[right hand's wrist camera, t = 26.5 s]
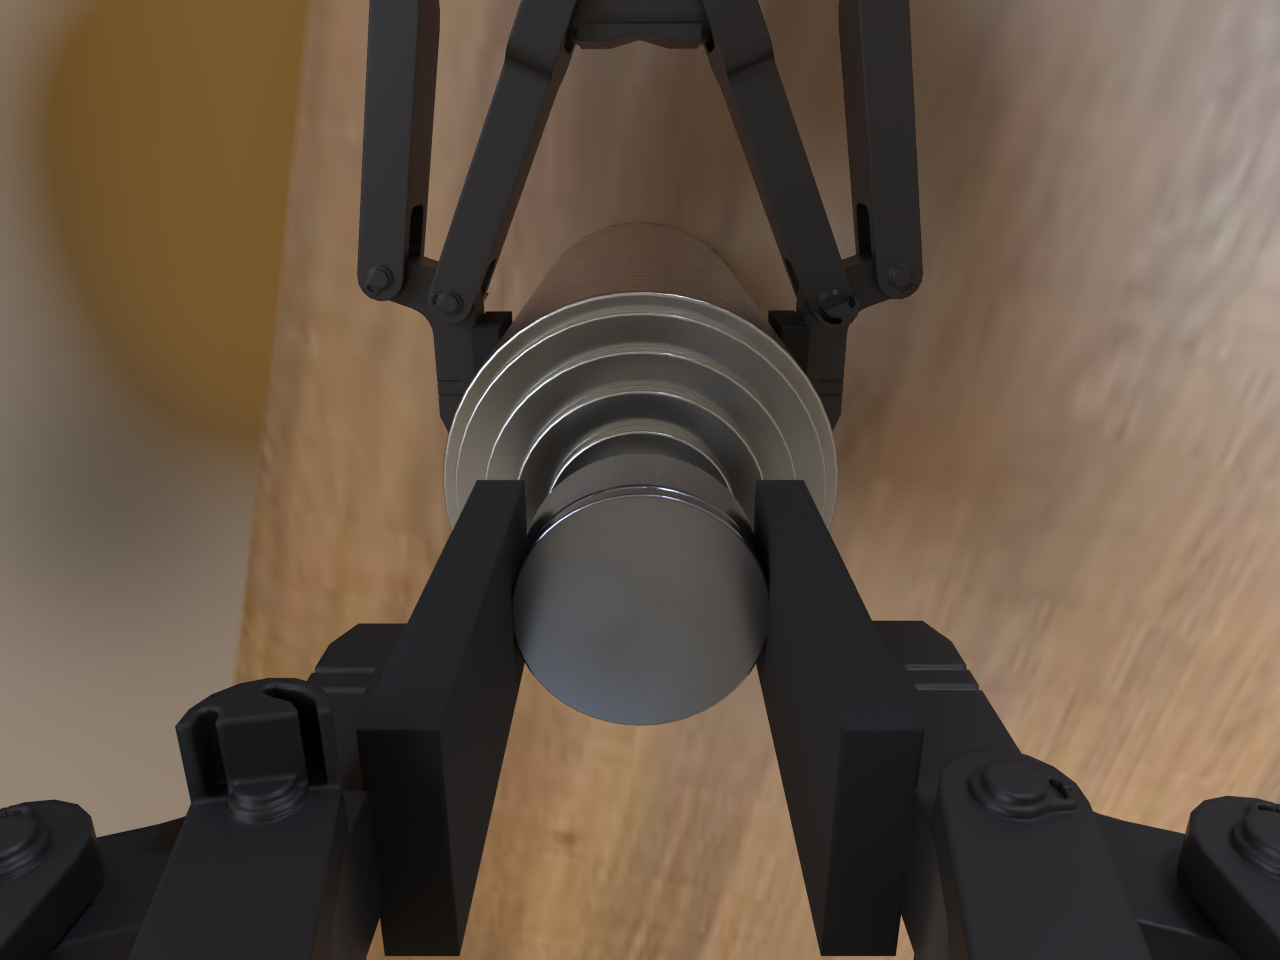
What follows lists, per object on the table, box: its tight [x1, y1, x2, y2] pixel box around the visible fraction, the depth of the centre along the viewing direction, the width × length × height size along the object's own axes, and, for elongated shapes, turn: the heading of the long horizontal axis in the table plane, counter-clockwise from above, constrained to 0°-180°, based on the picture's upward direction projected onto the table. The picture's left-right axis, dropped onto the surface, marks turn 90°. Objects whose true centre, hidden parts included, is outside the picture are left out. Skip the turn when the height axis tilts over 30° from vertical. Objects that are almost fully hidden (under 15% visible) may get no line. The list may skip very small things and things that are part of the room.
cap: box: [512, 454, 769, 726], centre depth 14 cm, size 4×4×2 cm
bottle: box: [443, 223, 838, 535], centre depth 23 cm, size 8×8×20 cm
